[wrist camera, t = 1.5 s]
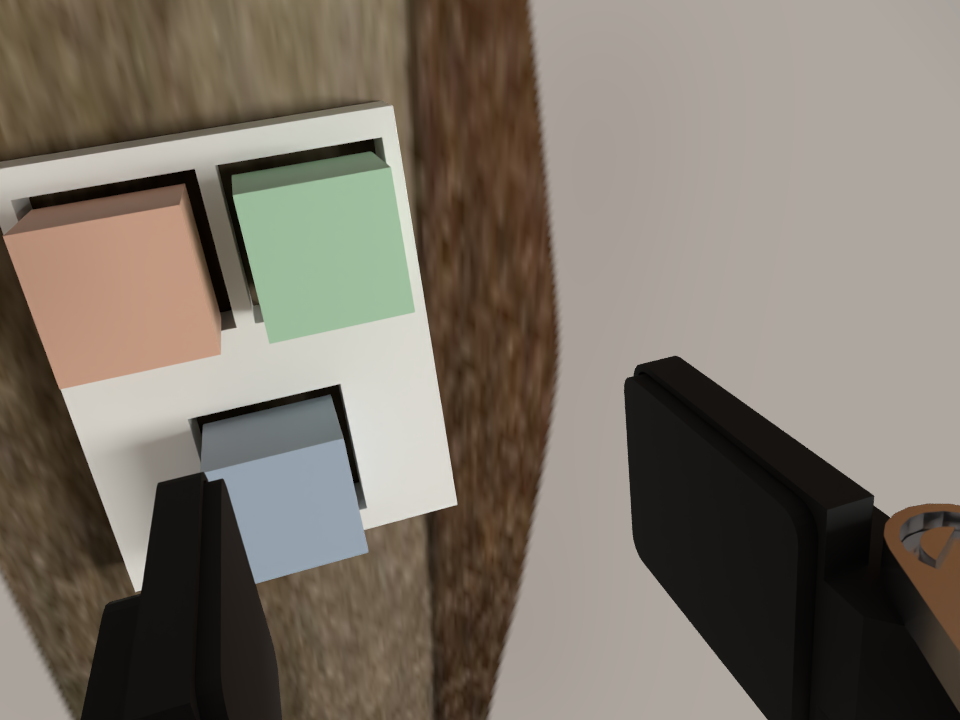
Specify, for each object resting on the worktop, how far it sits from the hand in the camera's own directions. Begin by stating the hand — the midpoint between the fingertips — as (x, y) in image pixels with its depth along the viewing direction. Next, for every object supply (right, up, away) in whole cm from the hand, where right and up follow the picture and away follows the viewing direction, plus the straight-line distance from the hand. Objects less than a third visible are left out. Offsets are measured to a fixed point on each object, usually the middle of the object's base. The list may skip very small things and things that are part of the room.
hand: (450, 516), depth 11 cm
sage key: (-5, +6, +16) cm, 18 cm away
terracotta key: (-10, +5, +15) cm, 19 cm away
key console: (-8, +3, +18) cm, 20 cm away
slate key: (-7, -2, +18) cm, 20 cm away
